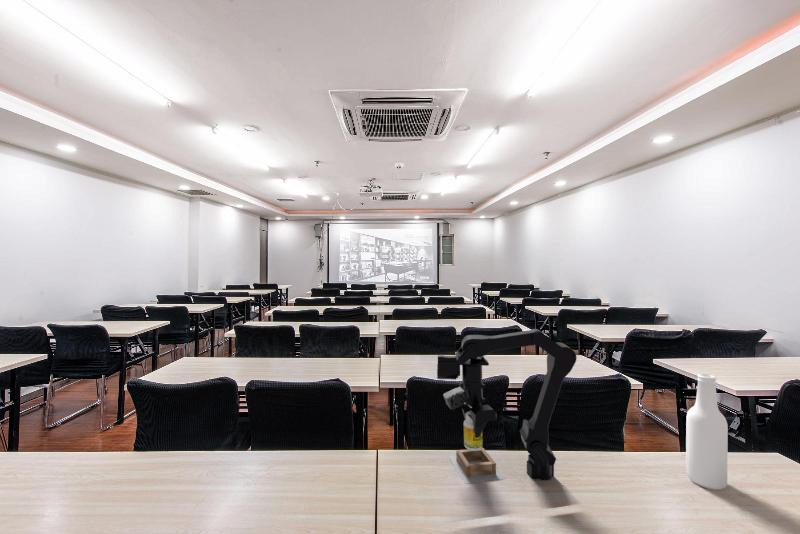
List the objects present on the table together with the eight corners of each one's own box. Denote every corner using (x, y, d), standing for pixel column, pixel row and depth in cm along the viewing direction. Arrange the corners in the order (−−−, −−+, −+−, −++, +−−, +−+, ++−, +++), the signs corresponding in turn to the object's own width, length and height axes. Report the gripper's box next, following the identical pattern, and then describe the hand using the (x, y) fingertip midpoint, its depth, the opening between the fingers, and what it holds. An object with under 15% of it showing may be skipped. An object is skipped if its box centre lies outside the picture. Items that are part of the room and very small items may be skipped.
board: (484, 456, 113) (484, 452, 113) (505, 482, 99) (505, 478, 99) (448, 460, 111) (448, 456, 111) (464, 487, 97) (464, 483, 97)
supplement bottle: (473, 440, 107) (472, 408, 107) (486, 447, 102) (486, 414, 102) (460, 445, 104) (459, 412, 104) (473, 453, 99) (473, 419, 99)
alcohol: (692, 468, 106) (693, 369, 105) (731, 484, 98) (732, 377, 98) (680, 478, 101) (681, 374, 100) (721, 495, 93) (722, 382, 93)
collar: (483, 457, 110) (483, 447, 110) (495, 473, 101) (495, 463, 101) (456, 460, 108) (456, 450, 108) (466, 477, 100) (466, 466, 100)
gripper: (436, 372, 111) (437, 421, 111) (458, 393, 92) (459, 452, 92) (469, 369, 113) (470, 417, 113) (497, 389, 95) (498, 447, 95)
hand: (473, 432), depth 103 cm, fingers closed on supplement bottle, 5 cm apart
